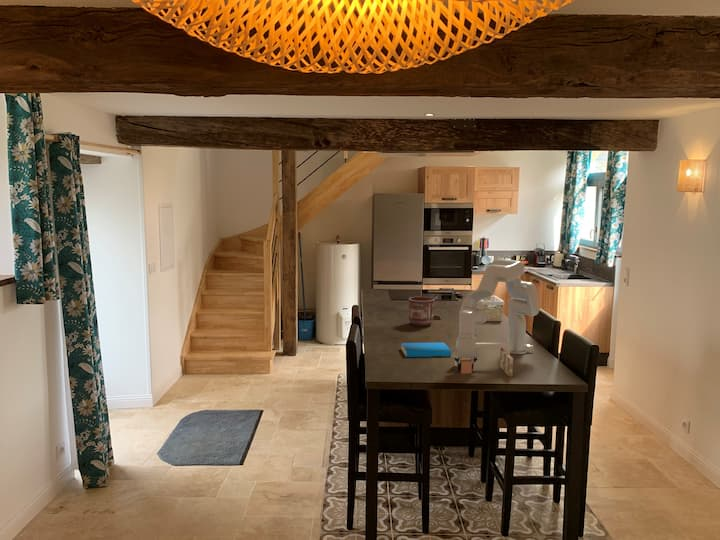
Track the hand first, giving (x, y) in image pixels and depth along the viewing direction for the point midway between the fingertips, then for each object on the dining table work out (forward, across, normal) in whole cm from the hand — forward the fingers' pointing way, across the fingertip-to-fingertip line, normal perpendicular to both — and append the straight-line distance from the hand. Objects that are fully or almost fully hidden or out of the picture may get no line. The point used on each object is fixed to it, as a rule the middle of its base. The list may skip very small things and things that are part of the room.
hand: (465, 370), depth 291 cm
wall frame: (+1, -11, -10) cm, 15 cm away
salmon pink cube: (+1, 0, 0) cm, 1 cm away
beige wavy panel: (+1, -20, 0) cm, 21 cm away
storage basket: (+1, -44, -124) cm, 132 cm away
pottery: (+1, +8, -103) cm, 103 cm away
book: (+1, +15, -35) cm, 38 cm away
